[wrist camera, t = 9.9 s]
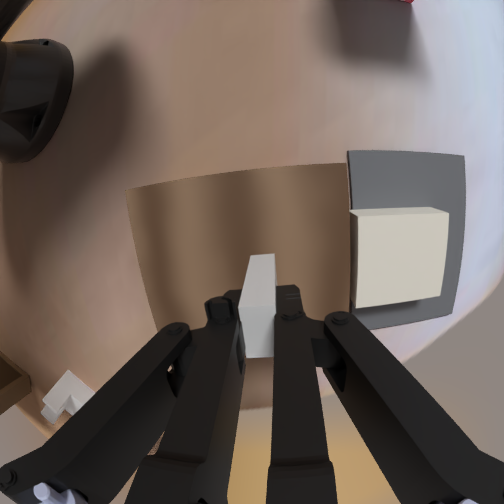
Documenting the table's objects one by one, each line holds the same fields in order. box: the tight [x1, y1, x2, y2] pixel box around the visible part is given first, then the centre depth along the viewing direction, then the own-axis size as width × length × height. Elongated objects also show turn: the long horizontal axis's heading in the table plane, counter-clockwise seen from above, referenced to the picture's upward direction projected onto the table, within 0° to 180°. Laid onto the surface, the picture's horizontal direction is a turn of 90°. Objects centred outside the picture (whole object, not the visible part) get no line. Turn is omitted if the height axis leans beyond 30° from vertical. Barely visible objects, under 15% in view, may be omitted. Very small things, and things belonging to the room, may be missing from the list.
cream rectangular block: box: [349, 207, 449, 308], centre depth 19 cm, size 8×7×3 cm
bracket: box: [41, 370, 96, 424], centre depth 28 cm, size 13×7×8 cm, turn 51°
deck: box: [125, 163, 350, 332], centre depth 21 cm, size 16×14×3 cm
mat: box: [347, 150, 466, 330], centre depth 21 cm, size 12×16×1 cm
